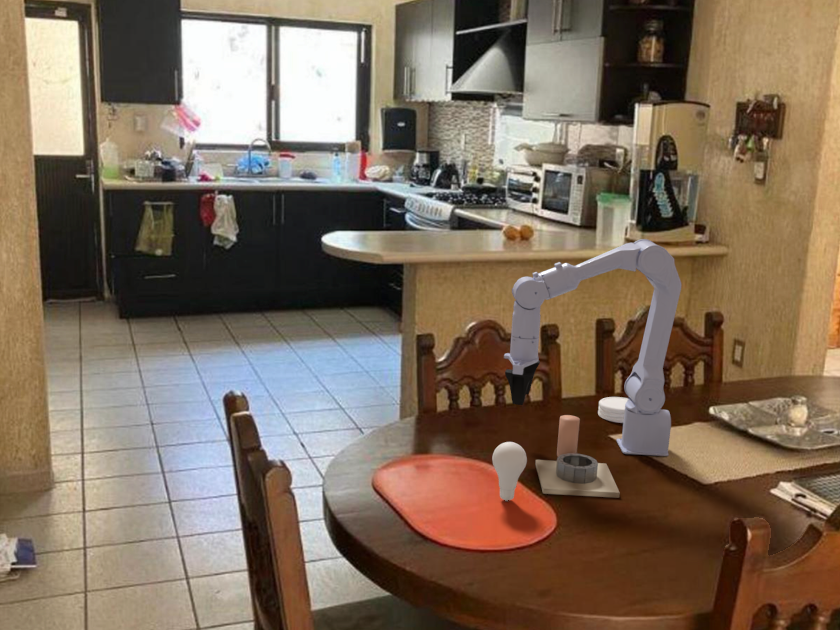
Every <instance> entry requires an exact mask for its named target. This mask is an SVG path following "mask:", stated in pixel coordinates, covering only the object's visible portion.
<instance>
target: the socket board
mask: <svg viewBox="0 0 840 630" xmlns="http://www.w3.org/2000/svg"><path fill="white" fill-rule="evenodd" d="M534 466H535V468H536V472H537V475H538V479H539V483H540V487H541V490H542V494H545V495H547V494H548V495H564V496H581V497H582V496H583V497H599V498H600V497H601V498H602V497H603V498H615V499H617V498H620V495H621V493H620V491H619V488H618V486H617V484H616V482H615V479H614V477H613V475H612V473H611V471H610V469H609V466H608V465H607V463H604V462H603V463H601V462H598V461H597V459H595V458H594V457H592V456H590V455H586V454H581V453H577V454H574V453H568V454H562V455H560V456H557V458H556V460H548V459H535V465H534Z"/></svg>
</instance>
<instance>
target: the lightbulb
mask: <svg viewBox="0 0 840 630" xmlns="http://www.w3.org/2000/svg"><path fill="white" fill-rule="evenodd" d="M491 459H492V465H493V468H494V470H495V472H496V474H497V478H498V487H499V497H500V499H501V500H503V501H504V500H505V501H504V502H509V501H511V500H513V499H514V497H515V492H516V491H515V490H516V488H517V484H518V480H519V479H520V476H521V474H522V473H523V471H524V470H525V469H526V466H527V462H528V458H527V453H526V451H525V449H524V448H523V447H522V446H521V445H520V444H518V443H516V442H513V441H506V442H502V443H500V444H499V445H498V446H497V447H496V448H495V449H494V451H493V453H492V458H491ZM508 500H509V501H508Z"/></svg>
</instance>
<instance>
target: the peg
mask: <svg viewBox="0 0 840 630" xmlns="http://www.w3.org/2000/svg"><path fill="white" fill-rule="evenodd" d="M580 421H581V419H580V418H579V416H575V415H570V414H564V415H560V417H559V421H558V422H559V423H558V424H559V425H558V437H557V445H556V447H557V448H556V456H557V457H559V456H560V455H562V454H568V453H574V454H578V443H579V431H580Z"/></svg>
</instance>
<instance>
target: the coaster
mask: <svg viewBox="0 0 840 630" xmlns="http://www.w3.org/2000/svg"><path fill="white" fill-rule="evenodd" d="M628 398H629V397H622V396H621V397H620V396H609V397H608V396H607V397H604V398H601V399H600V400H599V401H598V407H597V408H598V410H597V414H598V416H599V417H600V418H602V419H603V420H606V421H609V422H612V423H618V424H619V423H620V424H623V422H624V412H625V404H626V402H627V401H628Z"/></svg>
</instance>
